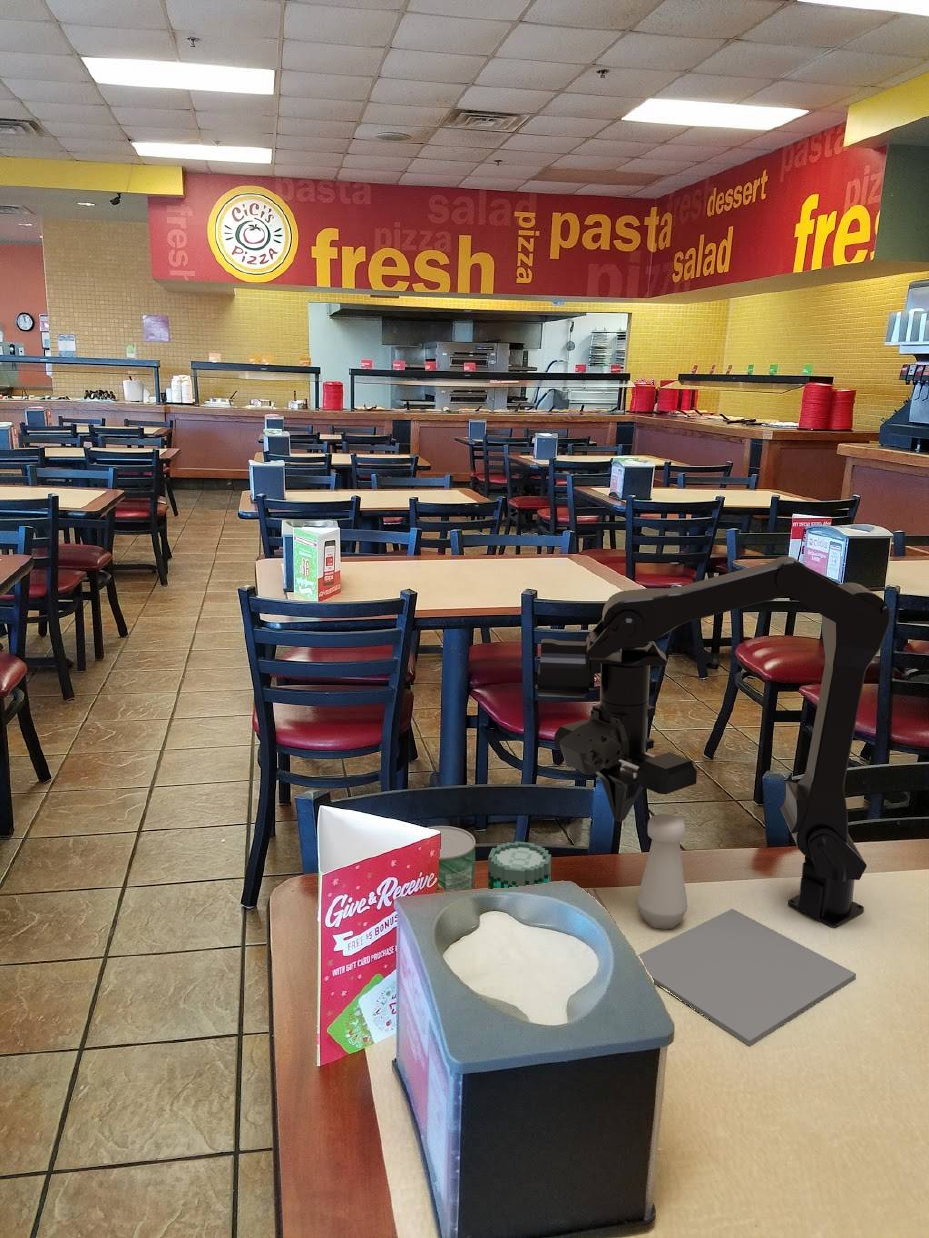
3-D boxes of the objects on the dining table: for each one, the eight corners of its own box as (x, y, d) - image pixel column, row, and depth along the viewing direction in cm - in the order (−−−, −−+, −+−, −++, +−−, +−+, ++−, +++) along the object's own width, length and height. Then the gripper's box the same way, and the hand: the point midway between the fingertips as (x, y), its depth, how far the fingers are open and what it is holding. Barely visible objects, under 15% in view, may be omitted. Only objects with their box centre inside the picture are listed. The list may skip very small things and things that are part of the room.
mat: (732, 913, 109) (732, 908, 109) (855, 978, 97) (856, 973, 96) (626, 965, 99) (626, 960, 99) (749, 1046, 86) (749, 1040, 86)
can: (483, 1000, 93) (484, 866, 90) (495, 966, 99) (496, 839, 95) (542, 1009, 91) (545, 873, 88) (550, 974, 97) (554, 845, 94)
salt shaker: (687, 936, 104) (693, 831, 101) (636, 930, 105) (641, 827, 103) (685, 909, 110) (691, 809, 107) (637, 904, 111) (641, 805, 108)
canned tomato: (486, 919, 108) (487, 833, 105) (457, 953, 101) (457, 863, 99) (427, 903, 111) (427, 820, 109) (395, 936, 104) (393, 848, 102)
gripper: (521, 691, 111) (520, 810, 114) (634, 734, 96) (628, 869, 99) (588, 676, 117) (585, 789, 121) (703, 714, 102) (696, 841, 106)
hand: (619, 819), depth 111 cm, fingers closed
